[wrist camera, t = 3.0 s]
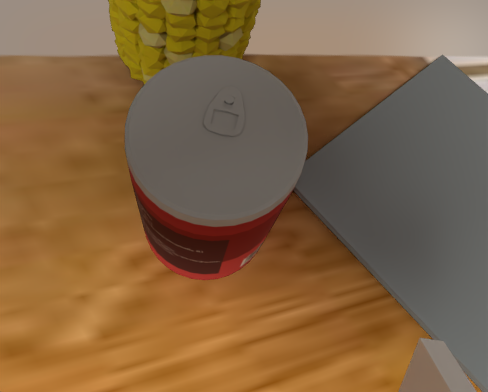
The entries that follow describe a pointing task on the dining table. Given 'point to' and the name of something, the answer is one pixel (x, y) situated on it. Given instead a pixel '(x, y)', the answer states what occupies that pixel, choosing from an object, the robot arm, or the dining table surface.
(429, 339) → the robot arm
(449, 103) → the rubber mat
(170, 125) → the canned food
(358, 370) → the dining table surface
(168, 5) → the food
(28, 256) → the dining table surface
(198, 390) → the dining table surface
